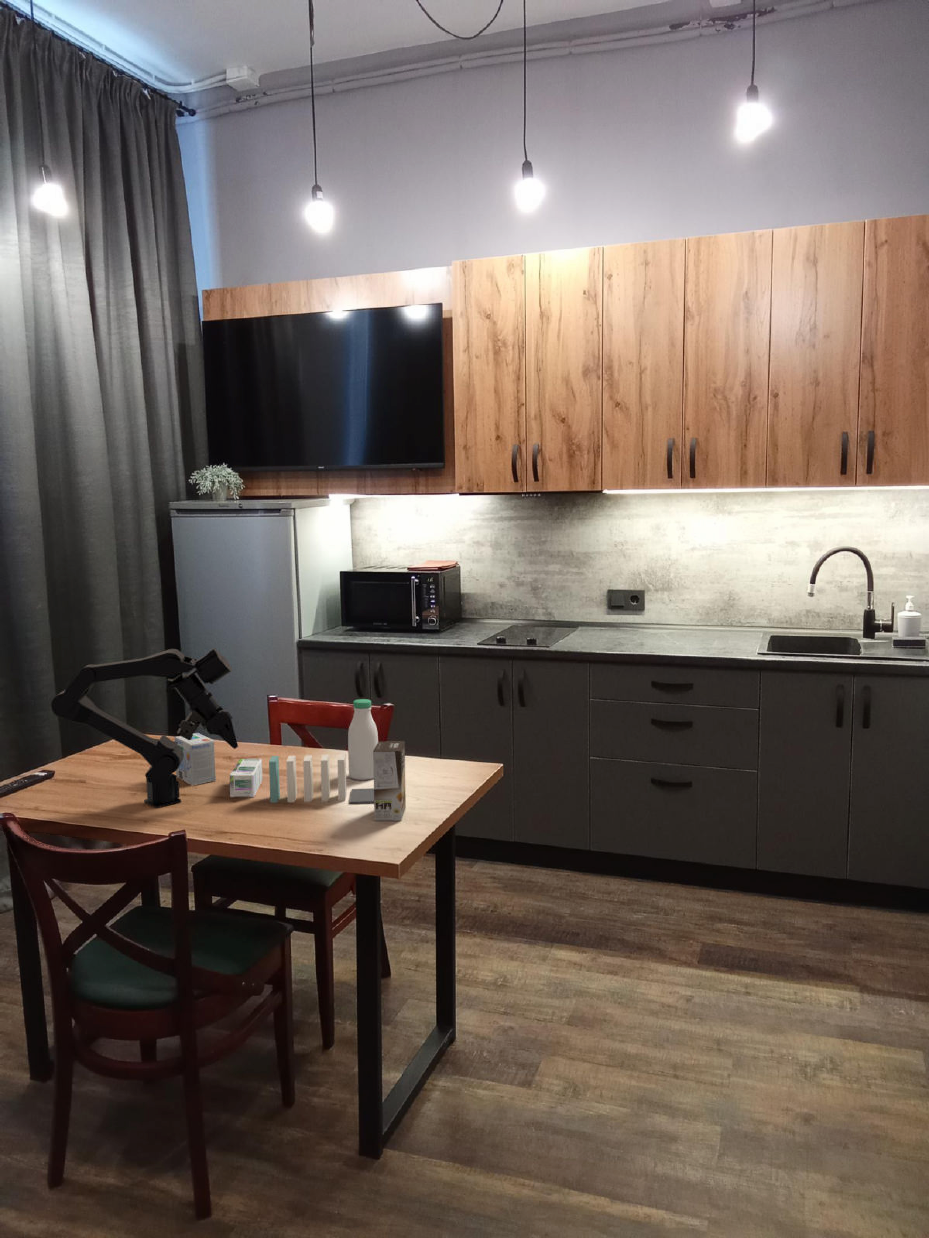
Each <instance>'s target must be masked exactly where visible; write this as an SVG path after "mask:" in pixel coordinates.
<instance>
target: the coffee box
mask: <svg viewBox="0 0 929 1238" xmlns="http://www.w3.org/2000/svg"><path fill="white" fill-rule="evenodd" d="M405 745H406V743H405V740H387V741H378V743H377V745H376V747H375V748H374V750H373V761H374V778H373V788H374V803H373V809H374V813H373V814H374V820H373V821H377V822H378V821H380V822H383V821H384V822H385V821H389V822H390V821H394V822H395V821H397V822H400V821H402V820H403V817H404V813H405V811H406V806H407V805H406V803H407V800H406V799H407V798H406V746H405Z"/></svg>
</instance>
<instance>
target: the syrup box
mask: <svg viewBox="0 0 929 1238" xmlns="http://www.w3.org/2000/svg"><path fill="white" fill-rule="evenodd" d="M262 781H263V760H262V758H239V759H238V761H237V763H236V764H235V766H234V768H233V770H231V772H230V774H229V796H230V798H254V797H255V796H256V793H257V791H258V790H259V788H260V785H261V783H262Z"/></svg>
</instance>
